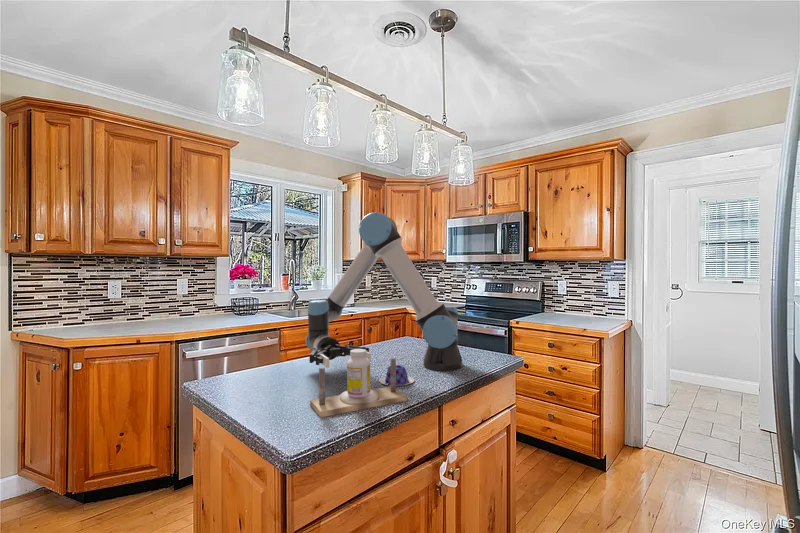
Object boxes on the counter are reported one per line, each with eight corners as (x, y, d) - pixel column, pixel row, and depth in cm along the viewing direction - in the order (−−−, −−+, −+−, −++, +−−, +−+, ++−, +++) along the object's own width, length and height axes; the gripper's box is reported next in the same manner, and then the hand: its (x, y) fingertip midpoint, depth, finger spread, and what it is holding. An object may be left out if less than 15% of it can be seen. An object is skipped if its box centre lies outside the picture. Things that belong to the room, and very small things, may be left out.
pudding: (416, 387, 129) (416, 371, 129) (379, 388, 128) (379, 372, 128) (412, 376, 141) (412, 362, 141) (378, 377, 140) (378, 362, 140)
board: (390, 390, 125) (390, 354, 125) (408, 401, 116) (407, 361, 115) (309, 404, 113) (309, 364, 113) (321, 418, 103) (320, 374, 103)
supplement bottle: (363, 389, 119) (363, 347, 119) (374, 395, 113) (374, 351, 113) (343, 393, 115) (343, 349, 115) (353, 400, 110) (353, 354, 109)
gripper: (359, 353, 146) (385, 367, 127) (291, 362, 134) (309, 378, 115) (359, 333, 146) (385, 343, 127) (291, 340, 134) (309, 352, 115)
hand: (349, 360), depth 121 cm, fingers open, 13 cm apart
